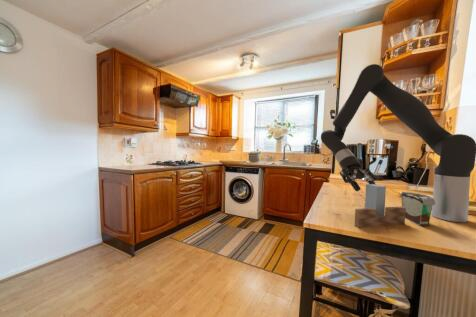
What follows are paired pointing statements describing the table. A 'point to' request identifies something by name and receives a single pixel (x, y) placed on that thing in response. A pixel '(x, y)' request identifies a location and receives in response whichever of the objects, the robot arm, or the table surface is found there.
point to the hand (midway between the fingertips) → (367, 190)
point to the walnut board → (379, 217)
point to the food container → (417, 207)
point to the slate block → (375, 198)
